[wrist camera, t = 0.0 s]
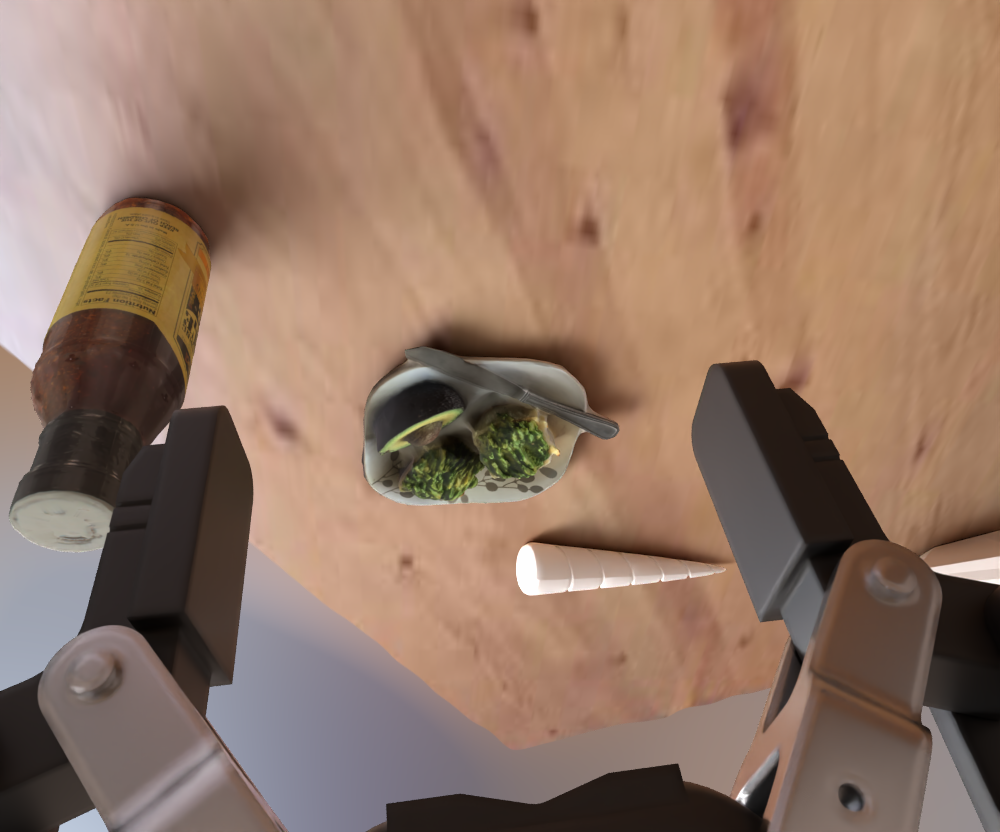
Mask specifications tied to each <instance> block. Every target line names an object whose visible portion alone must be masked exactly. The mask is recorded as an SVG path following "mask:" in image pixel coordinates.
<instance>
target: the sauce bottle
mask: <svg viewBox="0 0 1000 832" xmlns="http://www.w3.org/2000/svg"><path fill="white" fill-rule="evenodd" d="M210 270H211V261H210V255H209V243H208V239H207V237H206V236H205V234H204V232H203V230H202V229H201V227H200V226H199V225H198V224H197V223H195V221H193V220H192V218H191V217H190V216H188V215H187V214H186V213H185V212H184V211H183V210H181V209H179V208H178V207H176V206H173V205H171V204H169V203H166V202H162V201H160V200H154V199H148V198H135V197H134V198H127V199H125V200H123V201H121V202H118V203H116V204H114V205H113V206H112V207H111V208H109V209H108V210H107V211H106V212H105V213H103V215H102V216H101V217H100V218H99V219H98V220H97V221H96V223H95V225H94V226H93V227H92V229H91V232H90V234H89V236H88V238H87V240H86V242H85V245H84V247H83V249H82V251H81V254H80V256H79V258H78V261H77V263H76V265H75V267H74V270H73V272H72V275H71V277H70V280H69V282H68V284H67V287H66V289H65V292H64V294H63V296H62V299H61V301H60V304H59V306H58V308H57V310H56V313H55V315H54V317H53V320H52V322H51V325H50V327H49V329H48V332H47V334H46V337H45V339H44V343H43V353H42V354H41V357H40V358H39V360H38V362H37V363H36V365H35V369H34V371H33V377H32V380H31V393H32V397H31V399H32V401H33V406H34V410H35V411H36V413H37V415H38V417H39V419H40V420H41V424H42V426H43V428H44V430H43V431H42V433H41V434H40V437H39V448H38V451H37V453H36V456H35V459H34V462H33V464H32V467H31V469H30V471H29V472H28V473H27V474H25V475H24V477H23V479H22V480H21V481H20V482H19V485H18V488H17V491H16V493H15V496H14V499H13V502H12V504H11V507H10V512H9V519H10V523H11V525H12V526H13V528H14V529H15V530H16V531H17V532H19V533H20V534H21V535H22V536H23V537H24V538H26V539H27V540H28V541H30V542H32V543H34V544H36V545H39V546H42V547H45V548H48V549H52V550H56V551H63V552H75V553H78V552H85V551H93V550H97V549H100V548H103V547H104V543H105V540H106V536H107V533H109V532H110V528H109V524H110V521H111V517H112V513H113V509H114V508H116V503H115V502H116V498H117V494H118V491H119V487H120V483H121V479H122V475H123V473H124V471H125V470H126V469H127V467H128V466H129V465H130V463H131V462H132V461H133V459H134V458H135V457H136V455H137V454H138V453H139V451H140V450H141V449H142V447H143V446H146V445H151V443H152V442H153V441H154V439H155V438H156V437H157V436H158V434H159V433H160V432H161V431H162V430H163V429H164V428H165V427H166V426H167V424H168V423H169V422H170V420H171V416H172V414H173V412H174V411H175V410H178V409H181V407H182V405H183V402H184V398H185V394H186V389H187V384H188V380H189V375H190V370H191V365H192V359H193V356H194V352H195V346H196V340H197V336H198V331H199V325H200V321H201V316H202V311H203V306H204V301H205V296H206V291H207V286H208V281H209V276H210Z"/></svg>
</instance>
